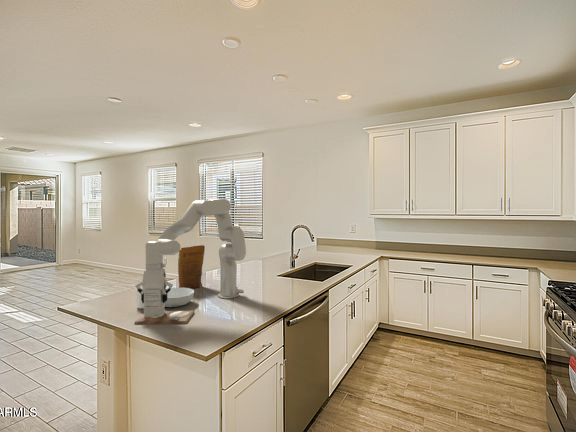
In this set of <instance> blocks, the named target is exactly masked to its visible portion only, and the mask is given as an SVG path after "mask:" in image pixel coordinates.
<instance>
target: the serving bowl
mask: <svg viewBox="0 0 576 432" xmlns="http://www.w3.org/2000/svg"><path fill="white" fill-rule="evenodd" d="M194 295H195V290H194V289H189V288H179V287H172V288H171V290H170V291H169V292H168V293H167V301H166V302H165V308H177V307H181V306H184V305H186V304H188V303H190V302H191V301H192V299H194Z"/></svg>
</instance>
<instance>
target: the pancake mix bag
mask: <svg viewBox="0 0 576 432" xmlns="http://www.w3.org/2000/svg"><path fill="white" fill-rule="evenodd" d="M205 249H206V248H205V245H203V244H202V245H201V244H200V245H193V246H192V245H191V246H188V247H180V251H179V252H178V260H177V262H178V263H177V272H178V274H177V275H178V288H189V289H192V290H194V289H199V288H201V287H202V286H203V283H202V276H203V264H204V260H205V259H204V258H205V257H204V256H205Z"/></svg>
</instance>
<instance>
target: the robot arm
mask: <svg viewBox="0 0 576 432" xmlns="http://www.w3.org/2000/svg"><path fill="white" fill-rule="evenodd" d="M231 205H232V204H231V202H230V201H229V200H228V199H225V198H209V199H207V200H206V199H200V200H199V199H198V200H194V201H192V203H190V205H189V206H188V207H187V208H186V210H185V211H184V212H183V214H182V215H181V216H180V218H178V220H177V221H175V222H174V223H173V224H171V225H170V226H168V227H167V228H166V229H164V231H163V232H162V233H161V235H160V236H159V237H158V238H157V239H156V240H149V241H146V243H145V269H143V270H144V271H143V275H142V281H141V282H140V283H138V284H135V289H136V288H137V291H138V292H139V293H140V294H141V301H142V303H144V290H161V291H162V292H163V303H165V302H166V301H167V293H168V292H169V291H170V290H171V288H174V287H173V286H174V285H173V283H171V282H169V281H167V274H166V269H165V268H166V267H167V265H166V264H164V260H163V259H164V257H163V256H174V255H177V254H179V251H180V250H181V244H180V242H178V241H177V240H176V239H177V238H178V237H180V236H181V235H183V234H186V233H189V232H190V231H193V230H194V228H195V226H196V225H197V224H198V223H199V221H200V220H201V218H202V217H214V218H215V220H216V224H217V225H216V226H217V231H218V236H219V240H221V242H225V243H223V244H221V246H219V249H218V256H219V263H220V266H219V267H220V270H219V271H220V274H219V275H220V277H219V279H220V291H219V293H218V294H217V298H220V299H224V300H225V299H228V300H229V299H234V298H235V299H236V298H238V297H239V296H240V294H244V293H245V292H244V290H245V289H243V288H240V289H239V288H238V286H237V273H238V271H237V267H238V266H237V262H239V261H240V262H241V261H243V260H244V259H245V258H246V255H247V248H246V238H245V232H244V230H243V229H242V228H241V227H239V226H233V222H232V217H231V215H230V213H229V212H230V211H231V207H232V206H231ZM140 287H142V288H143V290H142V289H141V288H140ZM167 287H168V288H167Z"/></svg>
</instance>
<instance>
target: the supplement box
mask: <svg viewBox="0 0 576 432" xmlns="http://www.w3.org/2000/svg"><path fill="white" fill-rule="evenodd" d="M165 308H166V307H165V303H163V292H162V291H161V290H144V308H143V314H144V317H160V316H161V315H162V314H163V313H164V312H165V311H166V309H165Z"/></svg>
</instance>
